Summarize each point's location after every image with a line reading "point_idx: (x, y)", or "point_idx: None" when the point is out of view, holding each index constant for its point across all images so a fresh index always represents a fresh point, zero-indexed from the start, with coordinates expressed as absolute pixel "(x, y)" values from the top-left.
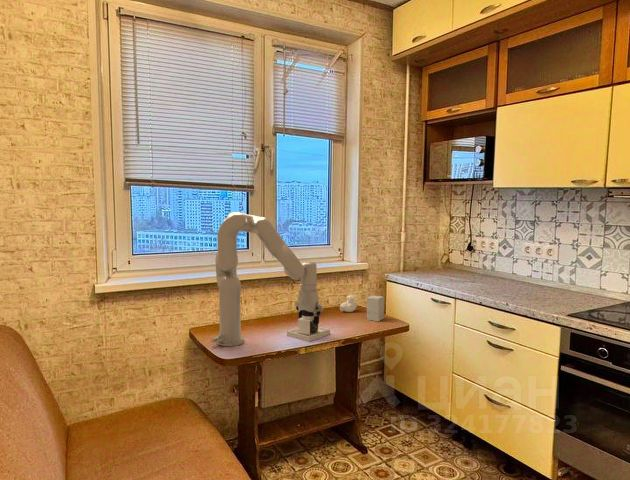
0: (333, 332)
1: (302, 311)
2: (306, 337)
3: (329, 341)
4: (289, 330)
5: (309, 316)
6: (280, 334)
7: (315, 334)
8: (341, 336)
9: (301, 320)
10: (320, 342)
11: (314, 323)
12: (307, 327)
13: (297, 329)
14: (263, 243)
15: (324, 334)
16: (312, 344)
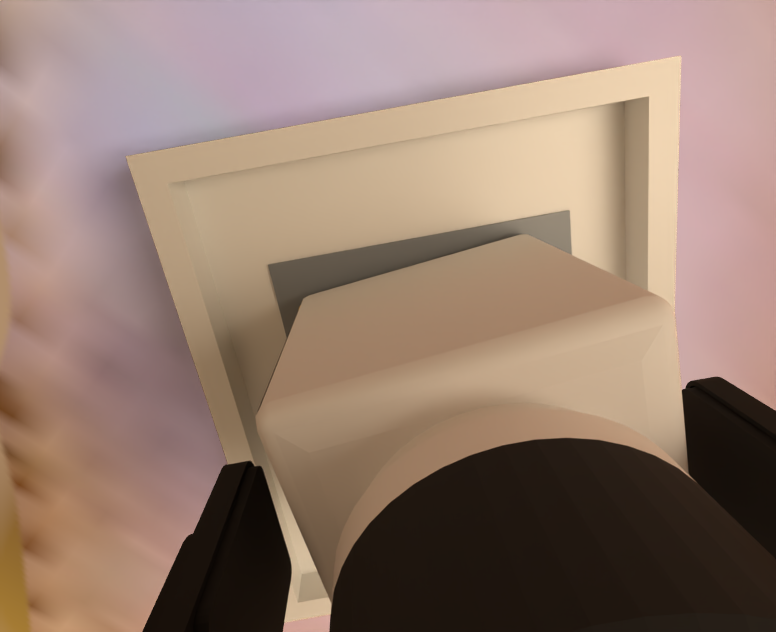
0: (306, 622)
1: (738, 572)
2: (193, 146)
3: (17, 392)
4: (677, 131)
5: (352, 545)
6: (764, 29)
7: (193, 337)
8: (123, 603)
9: (539, 321)
10: (38, 271)
11: (229, 472)
12: (342, 322)
13: None
14: None
15: None
16: (8, 108)
